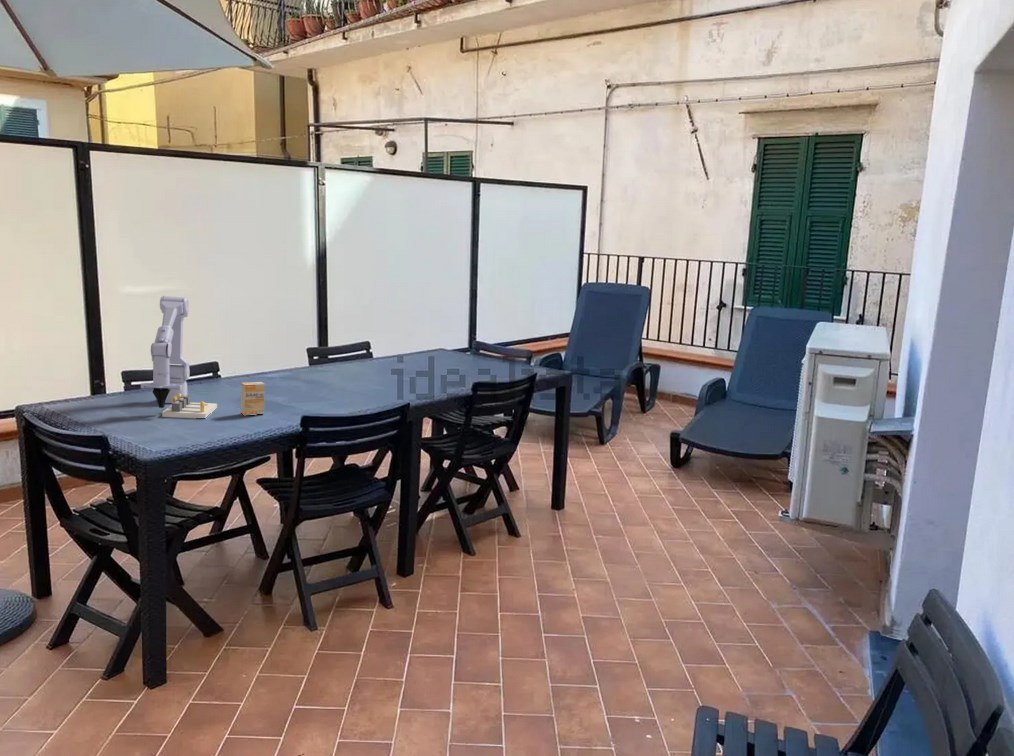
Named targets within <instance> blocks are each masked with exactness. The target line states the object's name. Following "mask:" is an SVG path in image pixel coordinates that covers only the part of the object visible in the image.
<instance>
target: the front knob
mask: <svg viewBox="0 0 1014 756" xmlns="http://www.w3.org/2000/svg"><path fill="white" fill-rule="evenodd" d="M171 405H172V411H181V410H182V402H179V401H176V402H173V403H171Z"/></svg>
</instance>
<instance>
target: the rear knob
mask: <svg viewBox="0 0 1014 756" xmlns="http://www.w3.org/2000/svg"><path fill="white" fill-rule="evenodd" d="M180 398H183V399H186V405H188V404H190V402H191V395H188V394H187V395H183V396H181V397H180Z"/></svg>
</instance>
